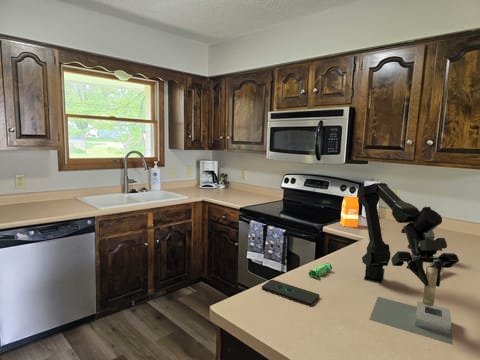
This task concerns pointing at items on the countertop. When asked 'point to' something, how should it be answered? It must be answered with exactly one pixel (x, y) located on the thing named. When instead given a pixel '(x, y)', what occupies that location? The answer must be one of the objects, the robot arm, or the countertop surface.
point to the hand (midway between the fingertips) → (432, 286)
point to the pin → (430, 286)
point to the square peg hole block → (433, 318)
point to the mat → (403, 318)
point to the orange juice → (350, 211)
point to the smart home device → (291, 292)
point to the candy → (320, 270)
